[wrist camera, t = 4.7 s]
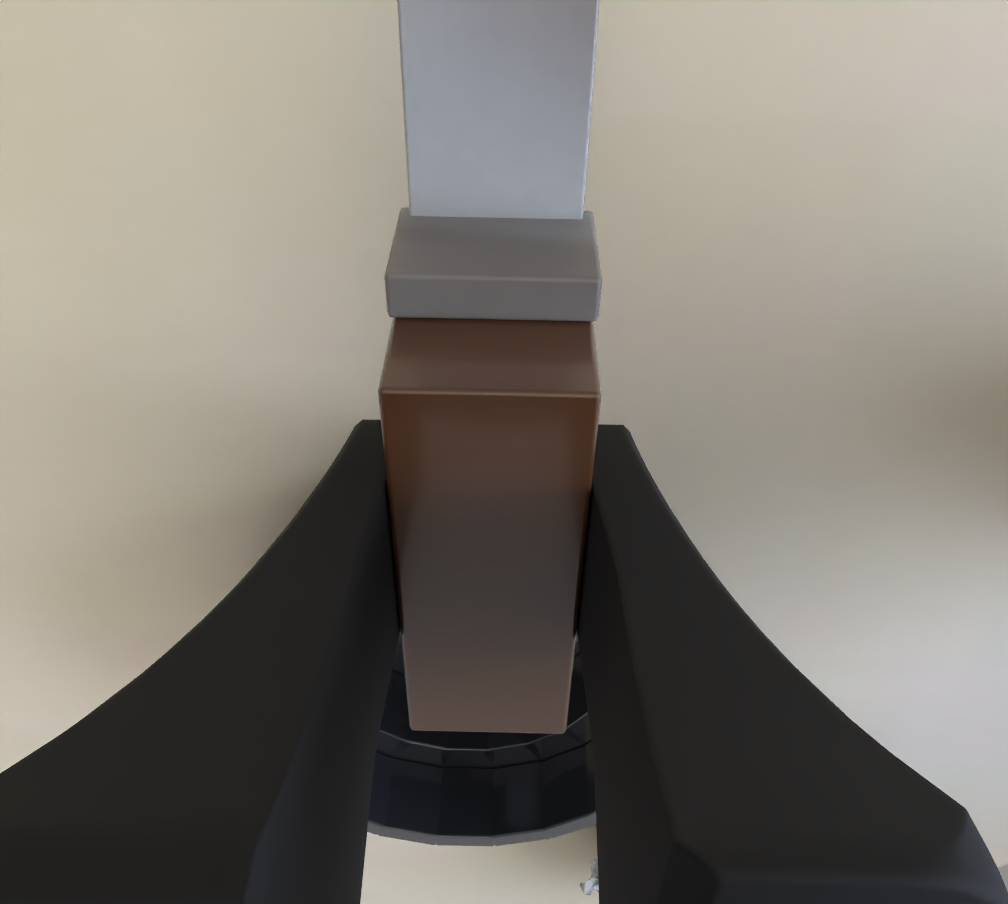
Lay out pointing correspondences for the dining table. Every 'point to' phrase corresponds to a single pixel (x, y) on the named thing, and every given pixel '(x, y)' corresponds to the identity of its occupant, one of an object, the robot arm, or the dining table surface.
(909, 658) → the dining table surface
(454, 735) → the bowl
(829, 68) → the dining table surface
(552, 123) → the knife
